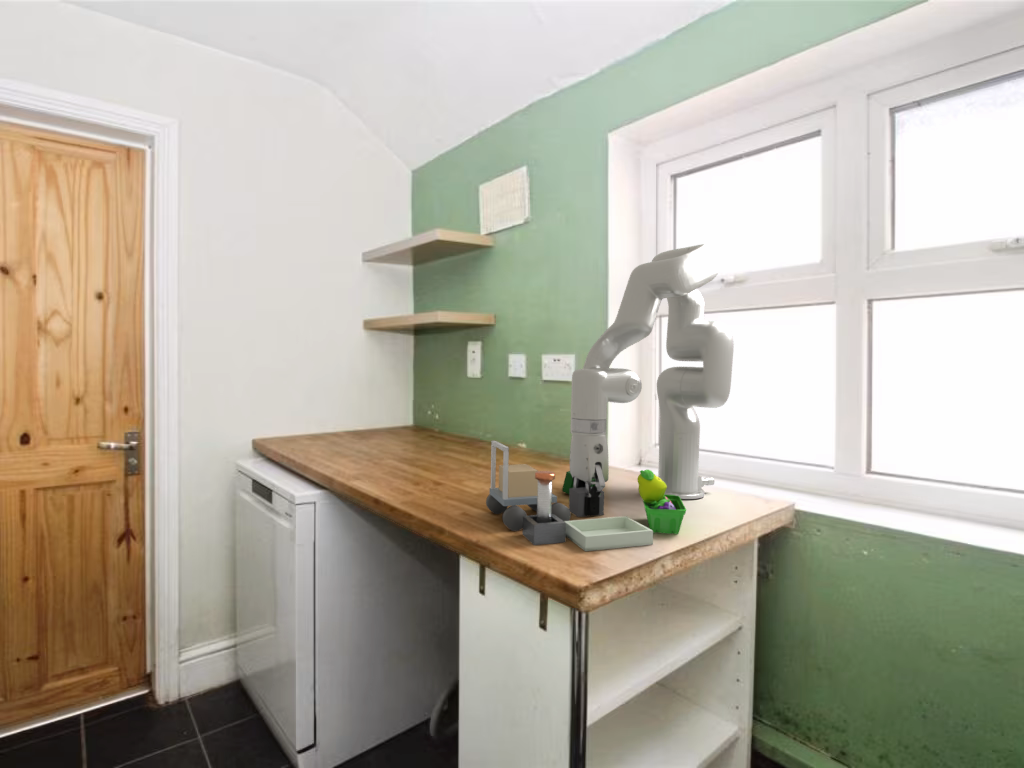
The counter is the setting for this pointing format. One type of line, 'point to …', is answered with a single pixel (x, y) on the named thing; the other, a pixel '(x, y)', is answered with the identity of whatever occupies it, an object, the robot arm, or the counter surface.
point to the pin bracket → (544, 530)
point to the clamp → (570, 482)
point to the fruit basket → (660, 504)
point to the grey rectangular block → (582, 501)
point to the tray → (608, 533)
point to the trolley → (516, 491)
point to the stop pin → (544, 495)
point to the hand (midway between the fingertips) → (586, 511)
